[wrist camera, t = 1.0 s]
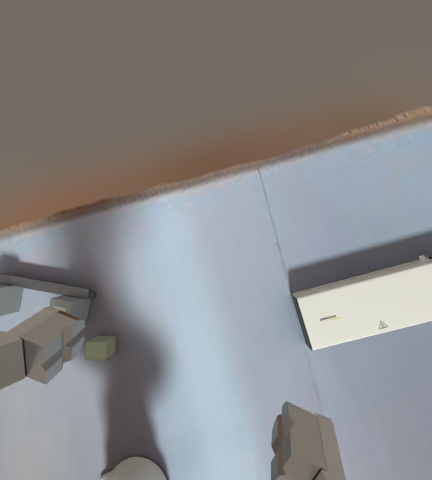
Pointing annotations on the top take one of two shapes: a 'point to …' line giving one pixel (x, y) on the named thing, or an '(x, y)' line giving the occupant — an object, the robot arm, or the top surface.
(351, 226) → the top surface
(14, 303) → the mounted modules
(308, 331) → the laminator
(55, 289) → the rail bar
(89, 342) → the block
